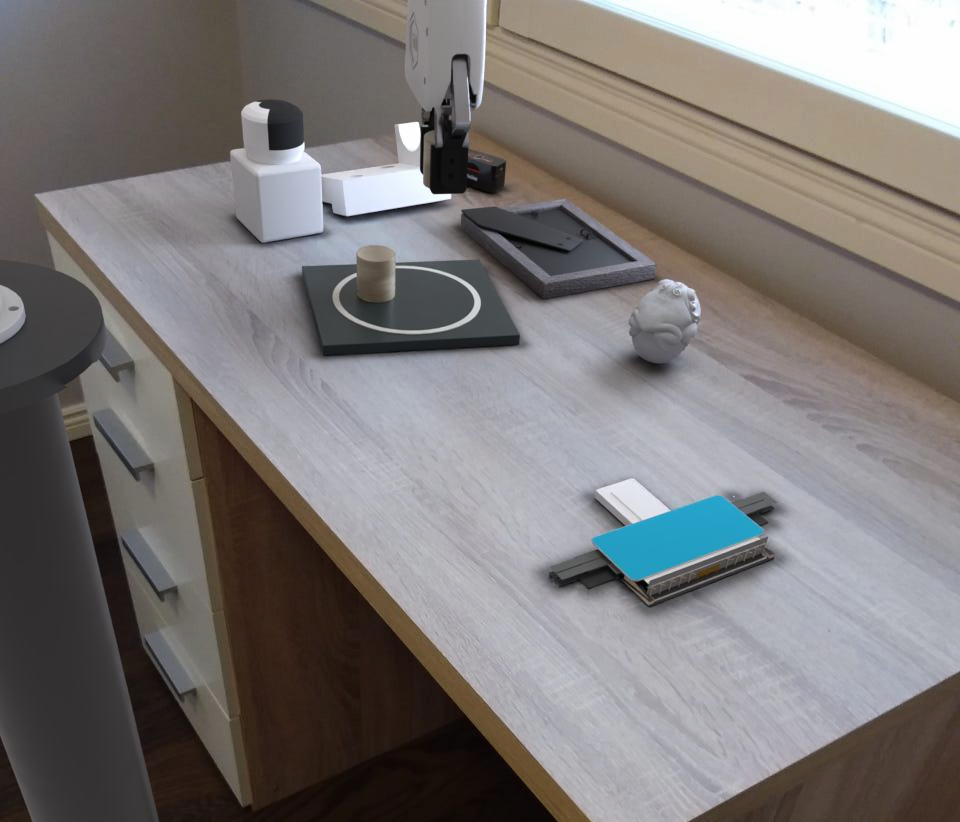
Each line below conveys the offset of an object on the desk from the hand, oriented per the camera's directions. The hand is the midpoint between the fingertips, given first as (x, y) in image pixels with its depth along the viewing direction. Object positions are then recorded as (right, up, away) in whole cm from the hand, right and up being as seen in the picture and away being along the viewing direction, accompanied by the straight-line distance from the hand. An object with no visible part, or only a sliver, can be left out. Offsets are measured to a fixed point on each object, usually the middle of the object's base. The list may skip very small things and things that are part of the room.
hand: (442, 180), depth 94 cm
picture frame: (+11, 0, +18) cm, 21 cm away
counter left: (-7, -8, +6) cm, 12 cm away
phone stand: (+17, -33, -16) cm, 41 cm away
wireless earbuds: (+2, +13, +31) cm, 33 cm away
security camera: (-18, +3, +19) cm, 26 cm away
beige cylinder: (0, 0, 0) cm, 0 cm away
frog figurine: (+19, -15, +3) cm, 25 cm away
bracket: (-8, +9, +25) cm, 28 cm away
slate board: (-4, -9, +7) cm, 12 cm away
